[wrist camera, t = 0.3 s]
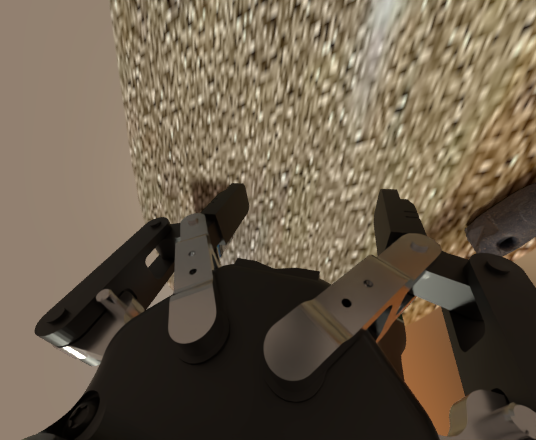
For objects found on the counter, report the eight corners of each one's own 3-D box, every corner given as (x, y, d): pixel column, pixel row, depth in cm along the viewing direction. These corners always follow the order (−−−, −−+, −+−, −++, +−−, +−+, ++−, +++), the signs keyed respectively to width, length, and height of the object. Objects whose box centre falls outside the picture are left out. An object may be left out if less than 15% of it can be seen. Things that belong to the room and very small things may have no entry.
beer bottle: (399, 277, 48) (438, 407, 29) (388, 297, 53) (414, 421, 34) (364, 270, 50) (379, 387, 31) (356, 290, 54) (364, 403, 35)
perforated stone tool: (537, 164, 30) (581, 183, 25) (569, 180, 30) (620, 203, 25) (446, 231, 39) (463, 256, 34) (470, 244, 39) (492, 271, 34)
